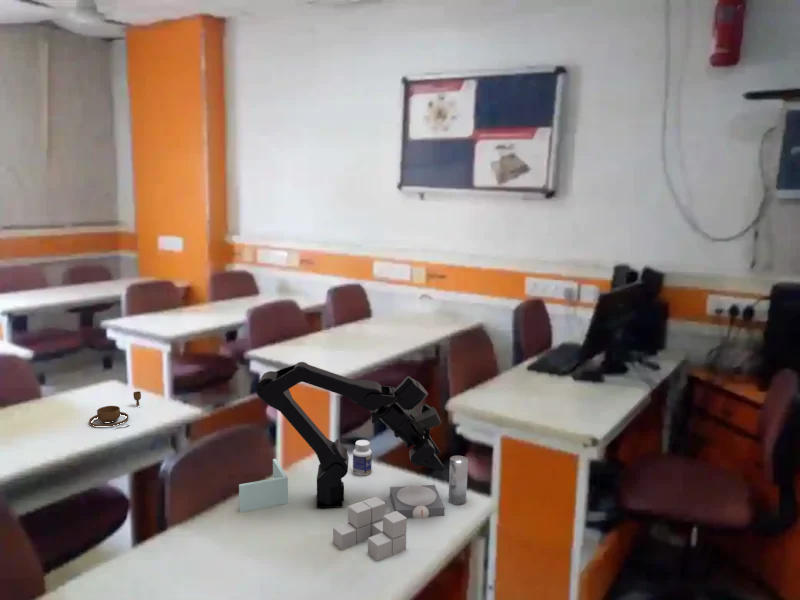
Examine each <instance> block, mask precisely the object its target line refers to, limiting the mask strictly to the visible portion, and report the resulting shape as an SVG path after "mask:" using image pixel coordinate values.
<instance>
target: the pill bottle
mask: <svg viewBox="0 0 800 600" xmlns="http://www.w3.org/2000/svg"><path fill="white" fill-rule="evenodd" d="M370 443H371V442H370V441H369V440H367V439H359V440H356V442H355V446H354V447H355V449H353V451H352V472H353V474H354V475H356V476H360V477H365V475H366V476H368V475H370V474H371V473H372V464H373V463H372V457H373V455H372V454H373V452H372V450H371V448H370V446H371V444H370Z"/></svg>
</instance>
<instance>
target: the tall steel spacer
mask: <svg viewBox="0 0 800 600" xmlns="http://www.w3.org/2000/svg"><path fill="white" fill-rule="evenodd" d="M468 465H469V459H468V458H467V457H466V456H462V455H453V456H450V458H449V475H448V476H449V477H448V479H449V481H448V500H447V501H448V503H450V504H451V505H454V506H463V505H465V504H466V503H467V490H468V470H469V469H468V467H469V466H468Z"/></svg>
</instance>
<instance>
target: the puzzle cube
mask: <svg viewBox="0 0 800 600" xmlns="http://www.w3.org/2000/svg"><path fill="white" fill-rule="evenodd" d="M385 505H386V502H385V501H383V500H382V499H381V498H379V497H378V496H374V497H370V498H368V499H364V500H363V501H359V502H357V503H353V504H350V505H348V509H347V513H348V515H347V522H345V523H342V524H339V525H337V526H336V525H335V526H333V527H332V543H333V544H334V545H335V546H336V547H337V548H338V549H340V550H342V551H344V550H346V549H348V548H351V547H353V546H356V545H358V544H361V543H364V542H367V554H368V555H369V556H371V557H372V558H373V559H374V560H376V561H377V562H380V561H381V560H384V559H386V558H389V557H392V556H393V555H396V554H398V553H401V552H403V551H406V550H407V529H408V528H407V524H408V518H406V517H405V516H403V515H402V514H400V513H399V512H398V511H395V512H394V511H392V512H389V514H387V515H385Z"/></svg>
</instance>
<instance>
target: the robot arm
mask: <svg viewBox="0 0 800 600" xmlns="http://www.w3.org/2000/svg"><path fill="white" fill-rule="evenodd" d="M302 382H303V383H306V384H309V385H312V386H314V387H316V388H319V389H324V390H326V391H329V392H331V393H335V394H338V395H341V396H344V397H345V398H348V399H349V400H350V401H351V402H353V403H355V404H356V405H358V406H359V407H361V408H363V409H365V410H367V411H370V415H371V417H370V419H371V424H375V423H376V422H377V421H378V420H380V421H381V422H382V423H383V424H384V425H386V427H388V429H390V430H391V431H392V432H393V435H394V437H395V438H397V439H398V438H399V439H400V440H401V441H402V442H404V444H405V447H406V448H407V449H410V448H411V447H412V448H411V449H410V450H409V460H410V462H411V464H413V465H414V466H415V467H418V466H421V467H425V468H430V469H433V470H436V471H440V472H443V471H444V470H445V469H446V467H445V466H444V464H443V463H442V462H441V460H440V459H439V457H438V456H439V455H440V454H441V451H440V450H439V447H438V446H437V445H436V443H435V442H434V440H433V439H432V437H431V435H430V429H433V428H434V427H438V426H440V425H441V424H442V422H441V419H440V416H439V414H438V412H437V409H436V407H434V406H430V405H428V404H427V403H425V404H422V405H420V411H419V412H418V414H417V415H414V414H413V413H410V412H409V413H407V412H406V411H405V410H407V411H409V410H411V411H413V410H414V408H416V406H418V405H419V404H420V403H421V402H422V401H423V400H424V399H425V398H426V397H427V396H428V395H429V393H428V391H427V390H426V388H424V386H423V385H422V384H421V383H420V382H419V381H418V380H416V379H414V378H413V377H411V376H410V375H407V376H406V377H404V379H403V381H401V383H400V384H398V386H396V387H395V386H388V385H381V384H380V383H379V382H377V381H374V380H368V379H364V378H363V379H353V378H349V377H345V376H342V375H340V374H337V373H335V372H331V371H328V370H326V369H323V368H320V367H317V366H313V365H311V364H309V363H307V362H306V361H305V362H304V361H299V362H297V363H296V364H294V365H290V366H287V367H286V366H285V367H283V368H281V369H278V370H275V371H272V370H269V371H267V372H265V373H263V374H262V375H261V377H260V379H259V381H258V383H257V385H256V395H257V396H258V398H260V400H262V401H263V402H264V403H265V404H267V405H268V406H269V407H271V408H273V409H275V410H277V411H279V412H280V413H281V415H283V417H284V418H285V419H286V420H287V422H288V423H289V424H290V425H291V426H292V427H293V429H295V431H296V432H297V433H298V434H299V435H300V436H301V438H302V439H303V440H304V441H305V442H306V443H307V445H308V446H309V447H310V448H311V449H312V451H313V452H314V453H315V455H316V456H317V460H318V462H319V464H318V468H317V475H316V495H315V503H316V508H317V509H329V508H342V507H343V502H344V501H345V485H344V482H343V481H342V480H343V478H344V477H345V476H347V473H348V472H349V471H348V470H349V459H350V458H349V454H348V448H346V447H345V446H344V445H343V444H342V443H341V441H340V439H339V438H337V439H336V440H335V441H332V440H330V439H329V438H327V436H325V434H324V433H323V432H322V431H321V430H320V428H319V427H318V426H317V424H315V422H313V420H312V419H311V418H310V417H309V415H308V414H307V413H306V412H305V411H304V410H303V408H302V407H301V406H300V405H299V404H298V403H297V401H296V400H295V399H294V398H293V396H292V394H291V392H290V389H291V388H293V387H295V386H296V385H298V384H300V383H302Z"/></svg>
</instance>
